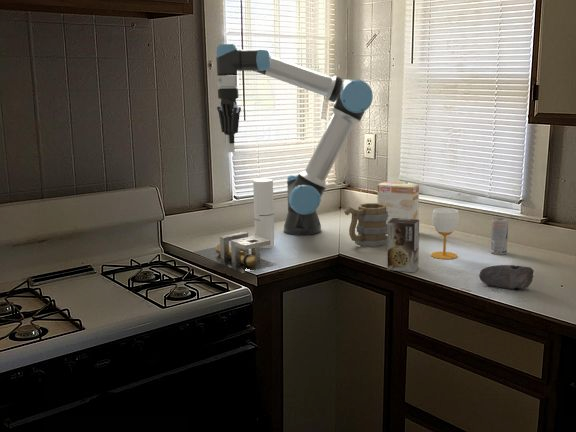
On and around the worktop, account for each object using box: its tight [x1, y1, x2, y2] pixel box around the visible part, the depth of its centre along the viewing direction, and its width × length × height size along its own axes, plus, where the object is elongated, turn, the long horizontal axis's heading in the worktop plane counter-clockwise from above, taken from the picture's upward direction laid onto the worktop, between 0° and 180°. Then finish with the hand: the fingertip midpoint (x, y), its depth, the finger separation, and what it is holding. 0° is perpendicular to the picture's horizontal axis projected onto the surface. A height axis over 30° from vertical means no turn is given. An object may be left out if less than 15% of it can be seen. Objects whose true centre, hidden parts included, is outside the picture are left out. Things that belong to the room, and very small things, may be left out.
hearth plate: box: [193, 246, 278, 274], centre depth 222 cm, size 14×33×1 cm, turn 37°
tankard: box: [344, 202, 388, 247], centre depth 238 cm, size 20×13×15 cm, turn 124°
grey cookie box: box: [386, 218, 420, 273], centre depth 206 cm, size 9×6×16 cm
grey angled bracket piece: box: [219, 231, 250, 262], centre depth 220 cm, size 10×2×8 cm, turn 128°
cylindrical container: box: [252, 178, 275, 249], centre depth 235 cm, size 7×7×25 cm
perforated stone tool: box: [478, 264, 535, 291], centre depth 187 cm, size 15×5×7 cm, turn 61°
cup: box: [430, 207, 460, 260], centre depth 220 cm, size 9×9×16 cm
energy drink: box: [490, 217, 509, 256], centre depth 222 cm, size 5×5×12 cm
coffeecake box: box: [376, 181, 420, 234], centre depth 253 cm, size 15×7×20 cm, turn 58°
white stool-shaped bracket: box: [230, 235, 270, 267], centre depth 212 cm, size 10×8×8 cm
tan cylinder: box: [215, 243, 257, 267], centre depth 218 cm, size 20×4×4 cm, turn 37°
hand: (230, 151), depth 239 cm, fingers closed
